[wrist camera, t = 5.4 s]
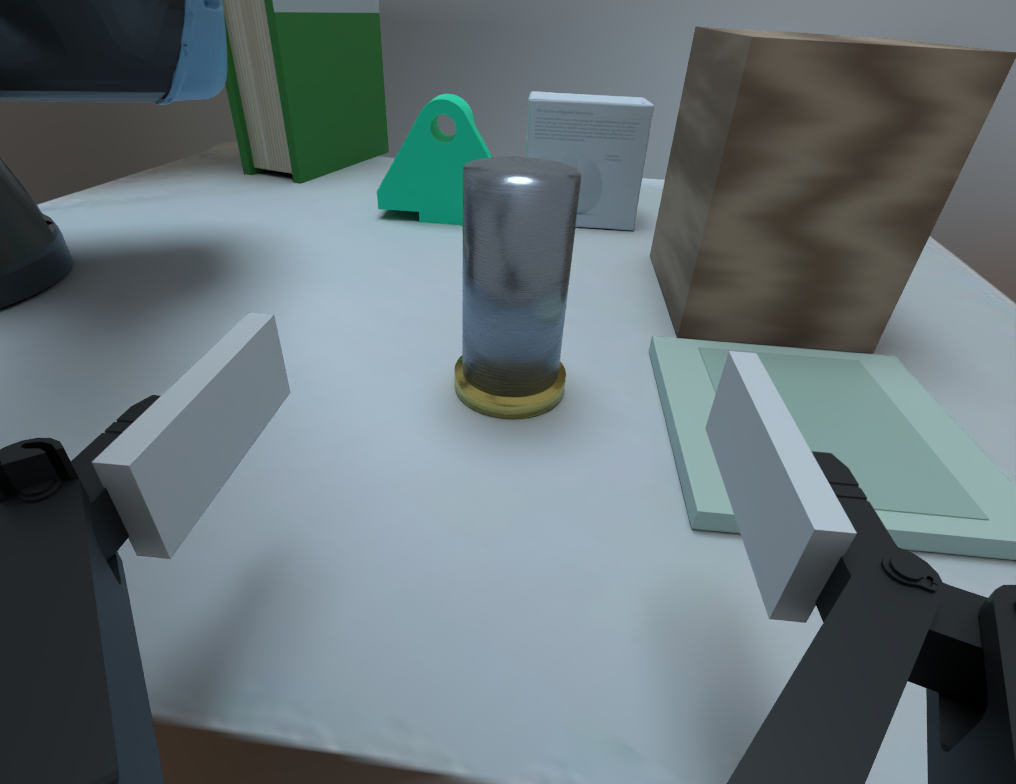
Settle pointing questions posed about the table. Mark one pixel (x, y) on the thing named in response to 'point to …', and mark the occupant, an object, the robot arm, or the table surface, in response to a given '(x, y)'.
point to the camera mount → (434, 164)
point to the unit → (811, 180)
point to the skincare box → (594, 150)
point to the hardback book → (305, 84)
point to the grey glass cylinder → (515, 283)
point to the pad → (847, 443)
